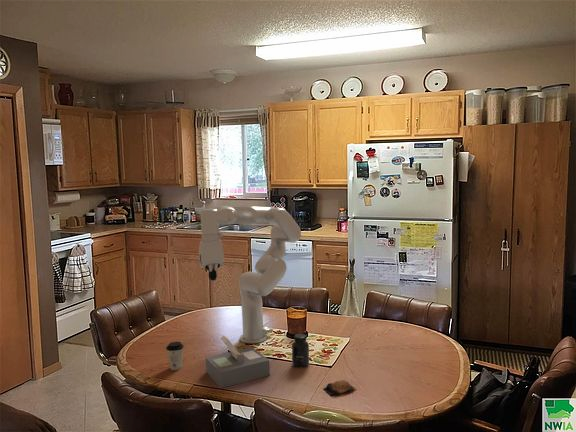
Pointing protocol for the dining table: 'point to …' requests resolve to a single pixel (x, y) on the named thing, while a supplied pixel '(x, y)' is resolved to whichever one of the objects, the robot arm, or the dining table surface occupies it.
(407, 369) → the dining table surface
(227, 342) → the switch lever
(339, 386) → the bread roll
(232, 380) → the switch box
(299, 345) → the supplement bottle
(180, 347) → the coffee cup
